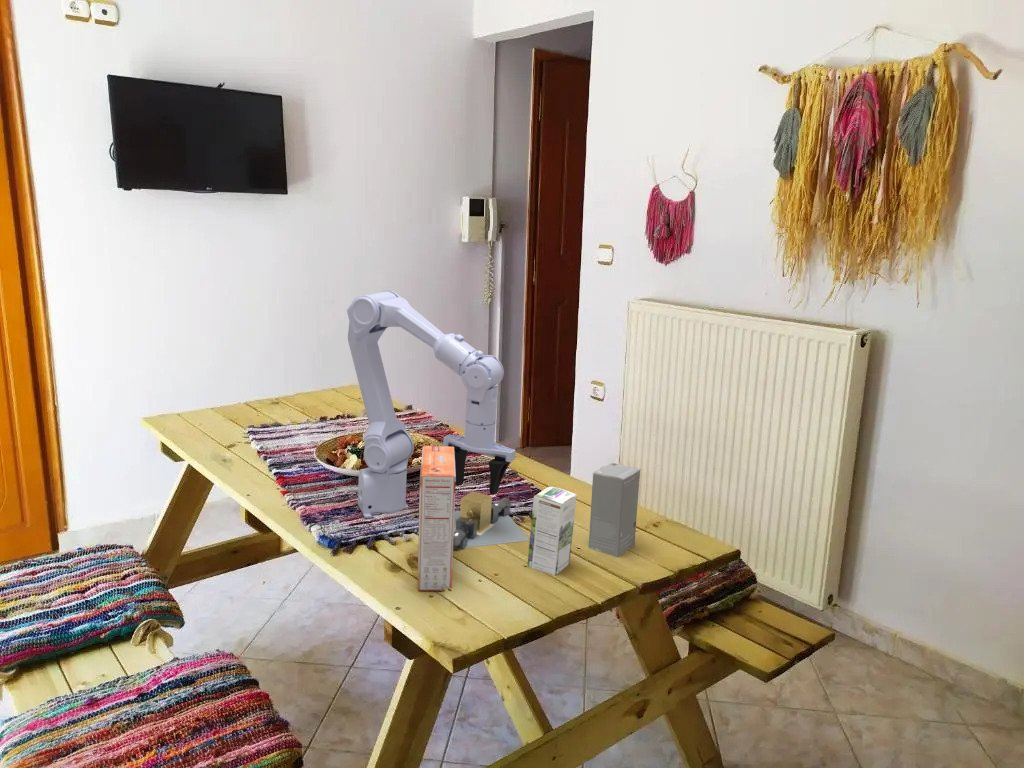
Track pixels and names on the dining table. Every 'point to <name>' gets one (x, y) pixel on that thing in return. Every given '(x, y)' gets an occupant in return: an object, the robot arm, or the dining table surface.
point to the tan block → (477, 509)
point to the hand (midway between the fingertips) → (476, 488)
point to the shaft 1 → (464, 532)
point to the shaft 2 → (500, 509)
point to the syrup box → (551, 530)
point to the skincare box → (614, 509)
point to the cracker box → (436, 518)
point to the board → (496, 533)
